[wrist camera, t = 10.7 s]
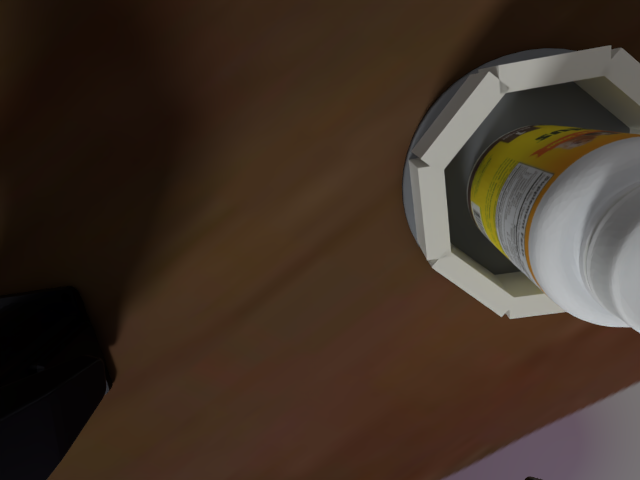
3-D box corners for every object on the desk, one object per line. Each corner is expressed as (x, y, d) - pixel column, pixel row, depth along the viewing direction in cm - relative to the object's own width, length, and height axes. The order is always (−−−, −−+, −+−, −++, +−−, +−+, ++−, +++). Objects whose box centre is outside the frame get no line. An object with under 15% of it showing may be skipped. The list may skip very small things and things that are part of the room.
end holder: (415, 305, 22) (426, 337, 19) (388, 76, 19) (396, 72, 16) (645, 275, 21) (694, 304, 18) (660, 26, 18) (723, 12, 15)
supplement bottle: (612, 143, 19) (899, 188, 9) (556, 258, 21) (749, 401, 11) (490, 106, 19) (652, 113, 9) (443, 226, 20) (537, 342, 11)
